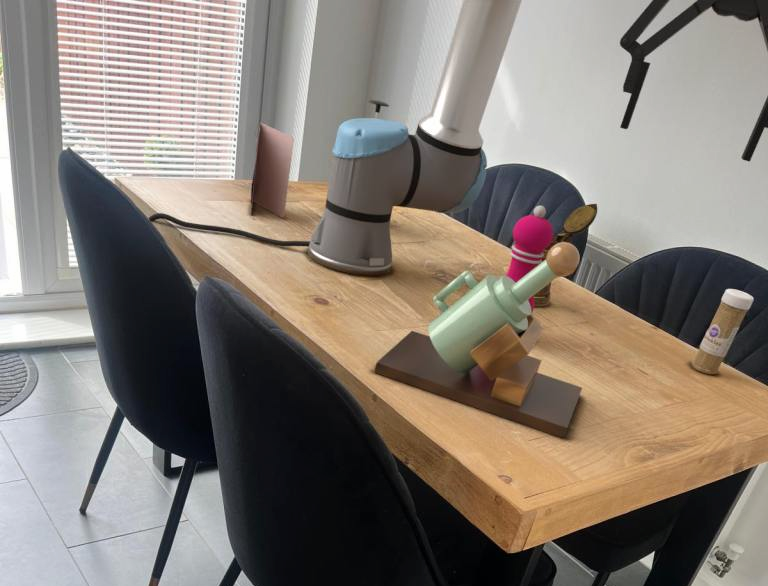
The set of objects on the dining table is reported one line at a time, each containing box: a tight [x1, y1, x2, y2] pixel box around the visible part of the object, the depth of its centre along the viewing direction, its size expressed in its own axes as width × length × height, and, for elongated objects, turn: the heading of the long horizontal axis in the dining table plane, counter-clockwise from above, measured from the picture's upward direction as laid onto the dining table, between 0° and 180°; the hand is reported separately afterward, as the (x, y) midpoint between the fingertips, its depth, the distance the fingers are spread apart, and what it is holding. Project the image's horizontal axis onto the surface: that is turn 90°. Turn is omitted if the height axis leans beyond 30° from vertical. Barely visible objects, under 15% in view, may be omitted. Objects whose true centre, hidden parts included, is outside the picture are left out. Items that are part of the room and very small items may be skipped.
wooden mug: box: [533, 203, 598, 307], centre depth 138 cm, size 9×14×18 cm, turn 111°
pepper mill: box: [505, 205, 554, 314], centre depth 118 cm, size 7×7×20 cm
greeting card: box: [250, 122, 295, 219], centre depth 151 cm, size 11×7×15 cm, turn 6°
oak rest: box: [470, 312, 545, 407], centre depth 100 cm, size 8×11×10 cm
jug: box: [427, 242, 581, 374], centre depth 98 cm, size 16×8×20 cm, turn 69°
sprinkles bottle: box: [691, 288, 755, 375], centre depth 125 cm, size 5×5×13 cm
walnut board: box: [374, 330, 583, 439], centre depth 104 cm, size 26×15×2 cm, turn 69°
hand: (683, 144), depth 84 cm, fingers open, 13 cm apart
